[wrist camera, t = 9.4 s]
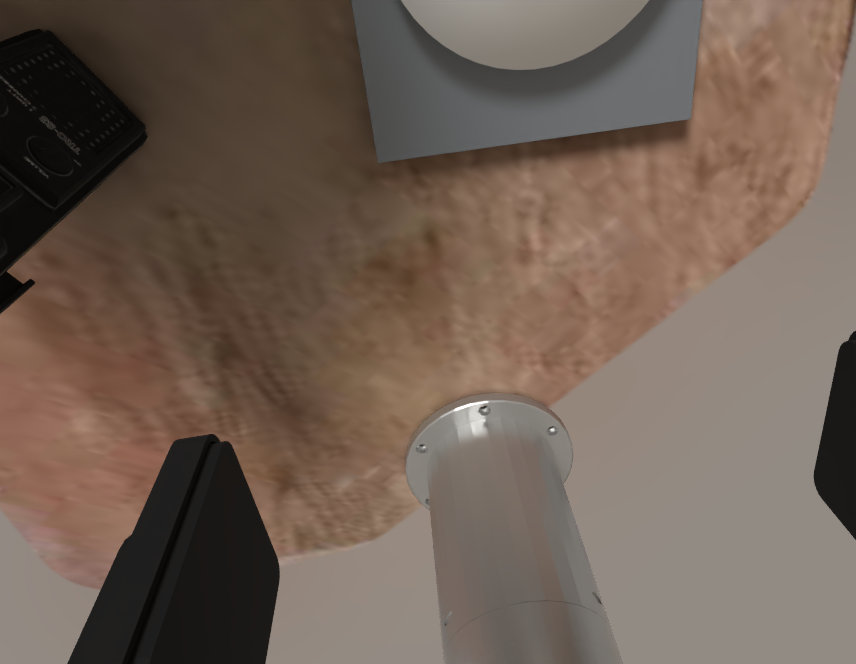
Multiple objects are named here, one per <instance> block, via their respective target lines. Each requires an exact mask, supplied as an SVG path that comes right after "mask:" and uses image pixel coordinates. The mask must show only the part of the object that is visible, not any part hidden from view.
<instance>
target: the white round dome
mask: <svg viewBox="0 0 856 664" xmlns="http://www.w3.org/2000/svg"><path fill="white" fill-rule="evenodd" d="M401 1H402V3H403V4H404V6H405V7H406V8H407V10H408V11H409V12H410V14H411V15H412V16H413V18H414V19H415V20H416V21H417V22H418V23H419V24H420V25H421V26H422V27H423V28H424V29H425V30H426V32H427V33H428V34H430V35H431V36H432V37H433V38H435V39H436V40H437V41H438V42H440V43H441V44H442V45H443V46H445V47H446V48H448V49H450V50H452V51H453V52H455V53H457V54H458V55H460V56H462V57H464V58H467V59H469V60H472V61H474V62H476V63H479V64H483V65H487V66H491V67H494V68H501V69H510V70H533V69H540V68H545V67H551V66H555V65H558V64H561V63H565V62H568V61H571V60H573V59H575V58H578V57H580V56H582V55H584V54H586V53H588V52H590V51H592V50H594V49H595V48H597V47H598V46H600V45H602V44H603V43H605V42H606V41H608V40H609V39H610V38H612V37H613V36H614V35H615V34H617V33H618V32H619V31H620V30H622V29H623V28H624V27H625V26H626V25H627V24H628V23H629V22H630V21H631V20H632V19H633V18H634V17H635V16H636V15H637V14H638V13H639V12H640V11H641V10H642V9H643V7H644V6H645V5H646V4H647V2H648V1H649V0H401Z"/></svg>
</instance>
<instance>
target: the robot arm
mask: <svg viewBox="0 0 856 664" xmlns="http://www.w3.org/2000/svg"><path fill="white" fill-rule="evenodd" d="M572 460H573V450H572V443H571V440H570V437H569V435H568V432H567V430H566V428H565V426H564V424H563V423H562V421H561V419H560V418H559V417H558V416H557V415H556V414H555V413H554V412H552V410H550V409H549V408H547V407H546V406H544V405H543V404H541V403H539V402H537V401H535V400H532V399H530V398H527V397H523V396H519V395H514V394H505V393H489V394H479V395H474V396H470V397H466V398H463V399H460V400H457V401H455V402H453V403H450V404H448V405H446V406H444V407H442V408H441V409H439V410H438V411H436V412H434V413H433V414H432V415H431V416H429V417H428V418H427V419H426V420H425V421H424V422H423V423H422V424H421V425H420V426H419V428H418V429H417V430H416V432H415V433H414V434H413V436H412V438H411V440H410V442H409V445H408V447H407V452H406V457H405V468H406V477H407V482H408V485H409V487H410V489H411V491H412V493H413V495H414V496H415V497H416V498H417V499H418V501H419V502H420V503H421V504H422V505H424V506H425V507H426V508H427V509H429V510H430V515H431V526H432V538H433V549H434V560H435V570H436V581H437V592H438V604H439V614H440V626H441V636H442V649H443V660H444V664H623V662H622V659H621V656H620V653H619V650H618V647H617V644H616V641H615V638H614V635H613V632H612V629H611V626H610V623H609V620H608V617H607V614H606V611H605V608H604V605H603V602H602V599H601V596H600V593H599V590H598V587H597V584H596V581H595V578H594V575H593V572H592V569H591V566H590V563H589V560H588V557H587V554H586V551H585V548H584V545H583V542H582V539H581V536H580V533H579V530H578V527H577V525H576V521H575V519H574V516H573V513H572V510H571V506H570V504H569V501H568V498H567V495H566V492H565V489H564V486H563V484H564V482H565V481H566V479H567V477H568V475H569V472H570V469H571V467H572ZM814 483H815V486H816V489H817V491H818V493H819V495H820V496H821V498H822V499H823V501H824V502H825V503H826V504H827V506H828V507H829V508H830V509H831V510H832V512H833V513H834V514H835V515H836V516H837V518H838V519H839V520H840V521H841V522H842V524H843V525H844V526H845V527H846V529H847V530H848V531H849V532H850V533H851V535H852V536H853V537H854V538H855V540H856V331H855V332H853V333H852V335H851V336H850V338H849V340H848V341H846V342H844V343H843V344H842V345H841V346H840V349H839V352H838V357H837V362H836V367H835V373H834V377H833V382H832V387H831V391H830V396H829V402H828V406H827V411H826V416H825V421H824V426H823V431H822V436H821V440H820V445H819V450H818V456H817V460H816V465H815V470H814ZM279 573H280V571H279V563H278V559H277V556H276V553H275V551H274V548H273V546H272V543H271V541H270V538H269V536H268V533H267V531H266V529H265V526H264V524H263V521H262V519H261V516H260V514H259V511H258V509H257V506H256V504H255V501H254V499H253V496H252V494H251V491H250V489H249V486H248V484H247V481H246V479H245V476H244V474H243V471H242V469H241V467H240V464H239V462H238V459H237V457H236V454H235V452H234V449H233V447H232V445H231V444H230V443H229V442H227V441H225V442H220V440H219V439H218V437H217V436H216V435H213V434H209V435H203V436H197V437H190V438H184V439H178V440H176V441H174V443H173V444H172V446H171V448H170V450H169V452H168V454H167V457H166V459H165V461H164V463H163V466H162V468H161V470H160V472H159V475H158V477H157V479H156V481H155V484H154V486H153V488H152V490H151V493H150V495H149V497H148V499H147V502H146V504H145V506H144V508H143V511H142V513H141V515H140V517H139V520H138V522H137V524H136V526H135V529H134V531H133V533H132V535H131V536H129V537H128V538H127V539H126V540H125V541H124V543H123V544H122V546H121V547H120V549H119V551H118V553H117V556H116V558H115V560H114V562H113V564H112V567H111V569H110V571H109V573H108V575H107V578H106V580H105V582H104V584H103V586H102V589H101V591H100V593H99V595H98V597H97V600H96V602H95V604H94V606H93V608H92V611H91V613H90V615H89V617H88V619H87V622H86V624H85V626H84V628H83V630H82V633H81V635H80V637H79V639H78V642H77V644H76V646H75V648H74V650H73V652H72V655H71V657H70V659H69V661H68V663H67V664H265V662H266V656H267V650H268V644H269V638H270V633H271V626H272V621H273V615H274V609H275V604H276V597H277V591H278V586H279V578H280V575H279Z"/></svg>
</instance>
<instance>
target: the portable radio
mask: <svg viewBox="0 0 856 664" xmlns="http://www.w3.org/2000/svg"><path fill="white" fill-rule="evenodd" d="M145 128H146V127H145V125H144V124H143V123H142V122H141V121H140V120H139V119H138V118H137V117H136V116H135V115H134V114H133V113H132V112H131V111H130V110H129V109H128V108H127V107H126V106H125V105H124V103H123V102H122V101H121V100H120V99H119V98H118V97H117V96H116V95H115V94H114V93H113V92H112V91H111V90H110V89H109V88H108V87H107V86H106V85H105V84H104V83H103V82H102V81H101V80H100V79H99V78H98V77H97V76H96V75H95V74H94V73H93V72H92V71H91V70H90V69H89V68H88V67H87V66H86V65H85V64H84V63H83V62H82V61H81V60H80V59H78V58H77V57H76V56H75V55H74V54H73V53H72V52H71V51H70V50H69V49H68V48H67V47H66V46H65V45H64V44H63V43H62V42H61V41H60V40H59V39H58V38H57V37H56V36H55V35H54V34H53V33H52V32H51V31H48V30H47V31H45V32H43V31H42V30H40V29H36V30H31V31H28V32H25V33H23V34H20V35H17V36H15V37H12V38H9V39H7V40H4V41H1V42H0V314H1V313H2V312H3V311H4V310H6V309H7V308H8V307H9V306H10V305H11V304H12V303H14V302H15V301H16V300H17V299H18V298H19V297H20V296H21V295H23V294H24V293H25V292H26V291H27V290H28V289H29V288H30V287H32V286H33V285H34V284H35V282H34V281H33V280H32V279H29V280H28V281H27V282H26V283H24V284H22V283H21V282H19V281H18V280H17V279H16V278H14V277H13V276H12V275H10V274H9V273H8V272H7V270H8V269H9V268H10V267H12V266H13V265H14V264H15V263H16V262H17V261H18V260H19V259H20V258H21V257H22V256H23V255H25V254H26V253H27V252H28V251H29V250H30V249H31V248H32V247H33V246H34V245H35V244H37V243H38V242H39V241H40V240H41V239H42V238H43V237H44V236H45V235H46V234H47V233H48V232H50V231H51V230H52V229H53V228H54V227H55V226H56V225H57V224H58V223H59V222H60V221H62V220H63V219H64V218H65V217H66V216H67V215H68V214H69V213H70V212H71V211H72V210H73V209H75V208H76V207H77V206H78V205H79V204H80V203H81V202H82V201H83V200H84V199H85V198H86V197H87V196H89V195H90V194H91V193H92V192H93V191H94V190H95V189H96V188H97V187H98V186H99V185H100V184H101V183H102V182H103V181H104V180H106V179H107V178H108V177H109V176H110V175H111V174H112V173H113V172H114V171H115V170H116V169H117V168H118V167H119V166H120V165H121V164H123V163H124V162H125V161H126V160H127V159H128V158H129V157H130V156H131V155H132V154H133V153H135V152H136V151H137V150H138V149H139V148H140V147H141V146H142V145H143V144H144V142H145V141H146V139H147V135H146V133H145V131H144V130H145Z"/></svg>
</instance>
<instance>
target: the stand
mask: <svg viewBox="0 0 856 664" xmlns="http://www.w3.org/2000/svg"><path fill="white" fill-rule="evenodd" d="M702 1H703V0H649V1H648V2H647V4H646V5H645V6H644V7H643V9H642V10H641V11H640V12H639V13H638V14H637V15H636V16H635V17H634V18H633V19H632V20H631V21H630V22H629V23H628V24H627V25H626V26H625V27H624V28H623V29H622V30H620V31H619V32H618V33H617V34H615V35H614V36H613V37H612V38H610V39H609V40H608V41H606V42H605V43H603V44H602V45H600V46H598V47H597V48H595V49H594V50H592V51H590V52H588V53H586V54H584V55H582V56H580V57H578V58H575V59H573V60H571V61H568V62H565V63H561V64H558V65H555V66H551V67H545V68H540V69H533V70H510V69H501V68H494V67H491V66H487V65H483V64H479V63H476V62H474V61H472V60H469V59H467V58H464V57H462V56H460V55H458V54H457V53H455V52H453V51H452V50H450V49H448V48H446V47H445V46H443V45H442V44H441V43H440V42H438V41H437V40H436V39H435V38H433V37H432V36H431V35H430V34H428V33H427V32H426V30H425V29H424V28H423V27H422V26H421V25H420V24H419V23H418V22H417V21H416V20H415V19H414V18H413V16H412V15H411V14H410V12H409V11H408V10H407V8H406V7H405V6H404V4H403V3H402V1H401V0H351V3H352V9H353V15H354V21H355V27H356V33H357V39H358V45H359V51H360V57H361V63H362V69H363V75H364V81H365V87H366V93H367V99H368V105H369V111H370V117H371V124H372V130H373V136H374V142H375V148H376V154H377V160H378V163H382V162H389V161H396V160H403V159H410V158H417V157H424V156H432V155H439V154H446V153H453V152H460V151H467V150H474V149H481V148H488V147H495V146H503V145H510V144H517V143H524V142H531V141H538V140H545V139H552V138H559V137H566V136H573V135H581V134H588V133H595V132H602V131H609V130H616V129H623V128H630V127H637V126H644V125H652V124H659V123H666V122H673V121H680V120H687V119H691V110H692V100H693V90H694V80H695V71H696V61H697V51H698V41H699V31H700V21H701V11H702Z"/></svg>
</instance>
